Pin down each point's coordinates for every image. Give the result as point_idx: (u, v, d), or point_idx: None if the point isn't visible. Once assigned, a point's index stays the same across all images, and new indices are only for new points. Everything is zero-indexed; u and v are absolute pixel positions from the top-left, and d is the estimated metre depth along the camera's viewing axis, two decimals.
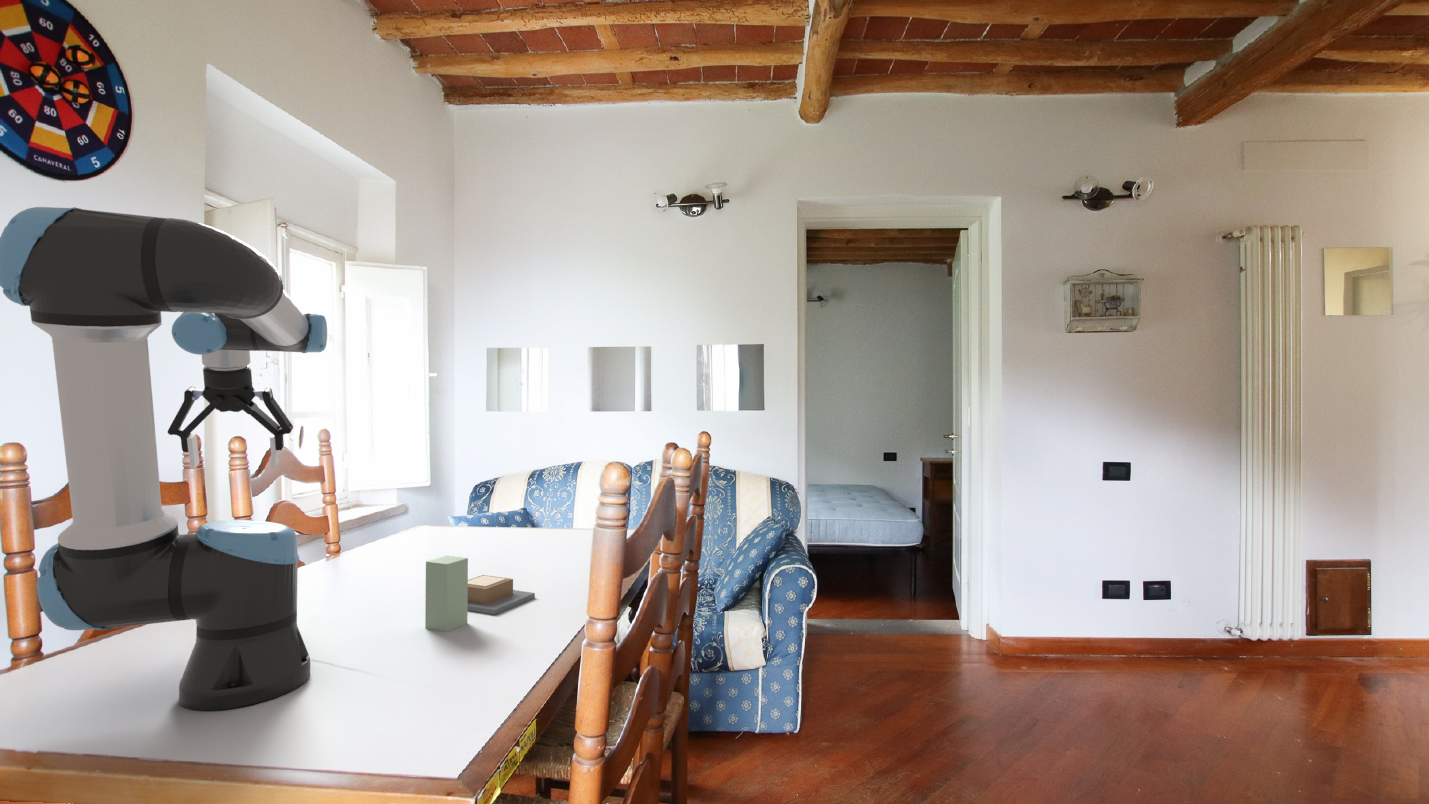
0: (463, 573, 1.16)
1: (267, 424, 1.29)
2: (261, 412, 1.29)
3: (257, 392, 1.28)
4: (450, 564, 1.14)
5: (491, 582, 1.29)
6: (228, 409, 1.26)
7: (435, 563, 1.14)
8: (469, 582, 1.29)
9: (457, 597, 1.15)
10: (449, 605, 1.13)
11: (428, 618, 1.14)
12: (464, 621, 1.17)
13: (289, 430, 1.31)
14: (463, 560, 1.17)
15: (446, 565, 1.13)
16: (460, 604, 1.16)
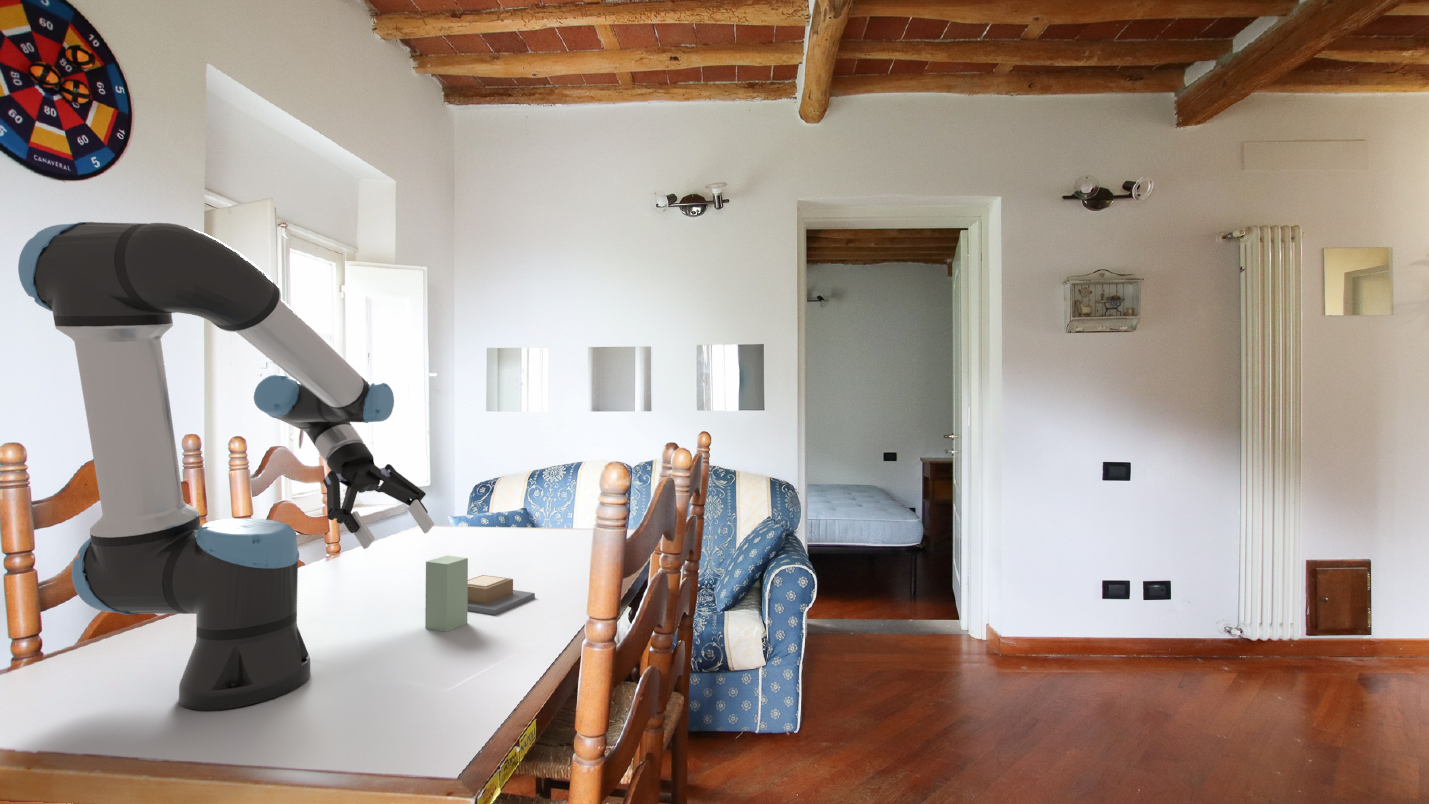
0: (463, 573, 1.16)
1: (405, 490, 1.28)
2: None
3: (381, 469, 1.29)
4: (450, 564, 1.14)
5: (491, 582, 1.29)
6: (370, 482, 1.24)
7: (435, 563, 1.14)
8: (469, 582, 1.29)
9: (457, 597, 1.15)
10: (449, 605, 1.13)
11: (428, 618, 1.14)
12: (464, 621, 1.17)
13: (424, 492, 1.32)
14: (463, 560, 1.17)
15: (446, 565, 1.13)
16: (460, 604, 1.16)
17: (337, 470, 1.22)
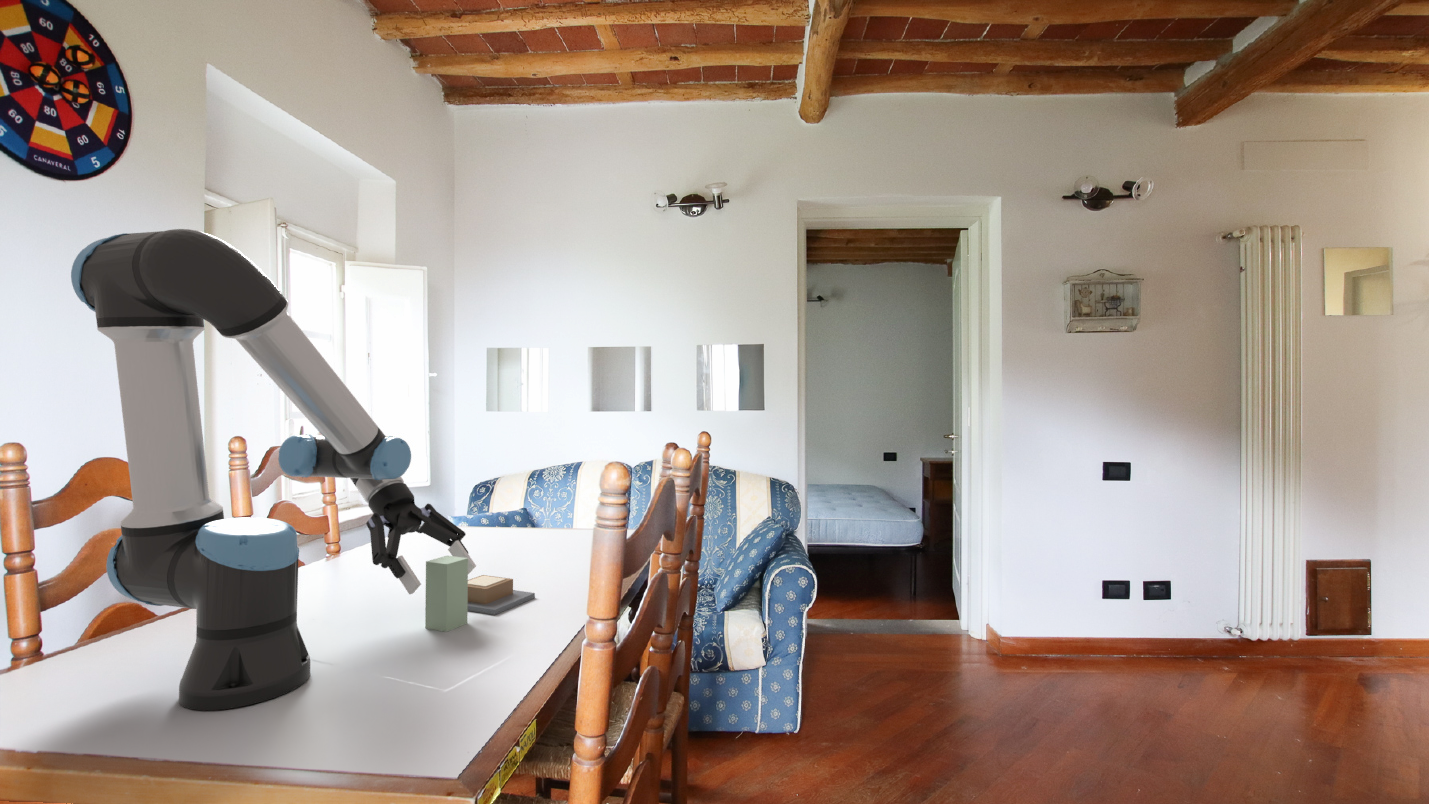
0: (463, 573, 1.16)
1: (446, 530, 1.26)
2: None
3: (421, 509, 1.27)
4: (450, 564, 1.14)
5: (491, 582, 1.29)
6: (412, 524, 1.21)
7: (435, 563, 1.14)
8: (469, 582, 1.29)
9: (457, 597, 1.15)
10: (449, 605, 1.13)
11: (428, 618, 1.14)
12: (464, 621, 1.17)
13: (463, 532, 1.30)
14: (463, 560, 1.17)
15: (446, 565, 1.13)
16: (460, 604, 1.16)
17: (379, 512, 1.20)
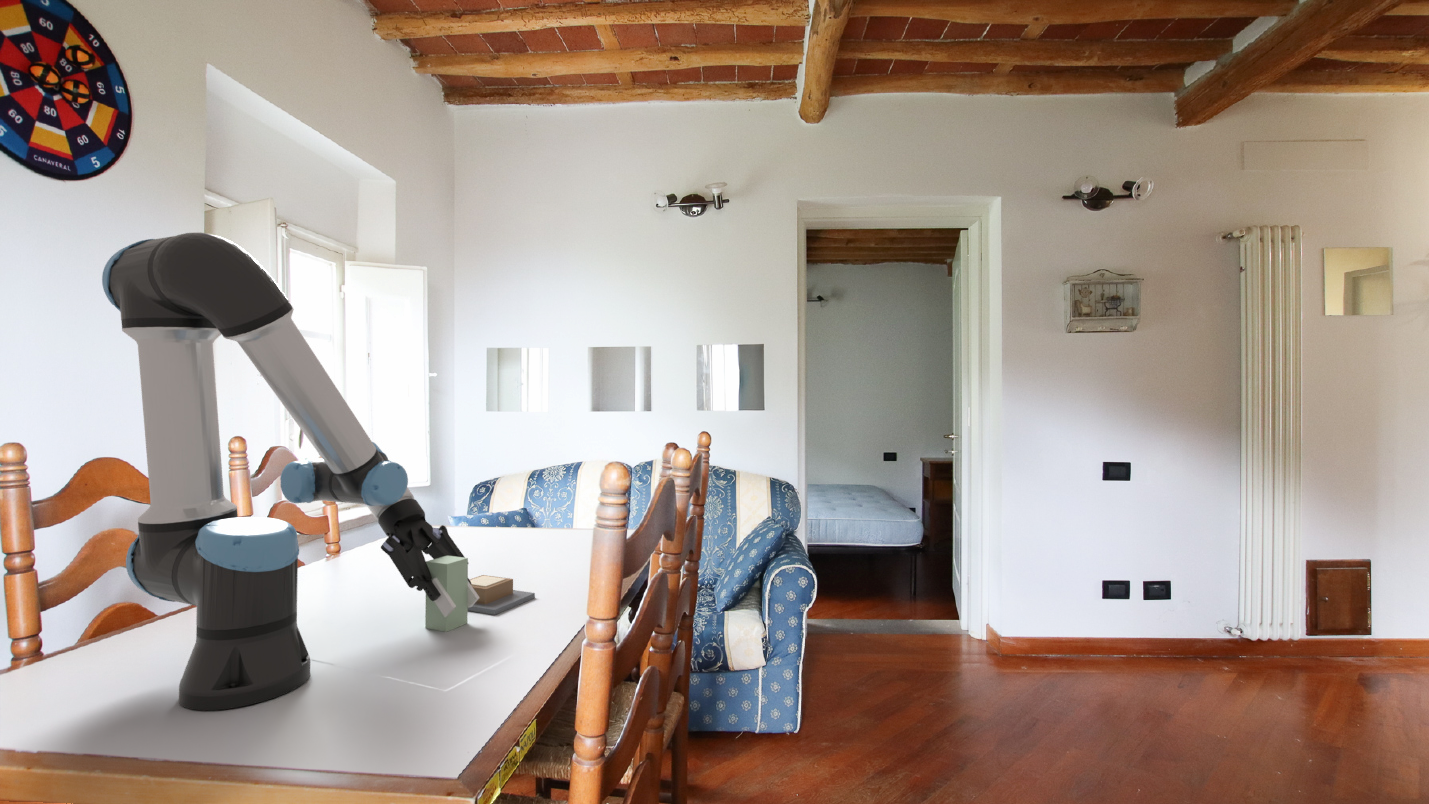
0: (463, 573, 1.16)
1: None
2: None
3: (434, 528, 1.24)
4: (450, 564, 1.14)
5: (491, 582, 1.29)
6: (423, 541, 1.18)
7: (435, 563, 1.14)
8: None
9: (457, 597, 1.15)
10: None
11: (428, 618, 1.14)
12: (464, 620, 1.17)
13: None
14: (463, 560, 1.17)
15: (446, 565, 1.13)
16: (460, 604, 1.16)
17: (389, 529, 1.17)
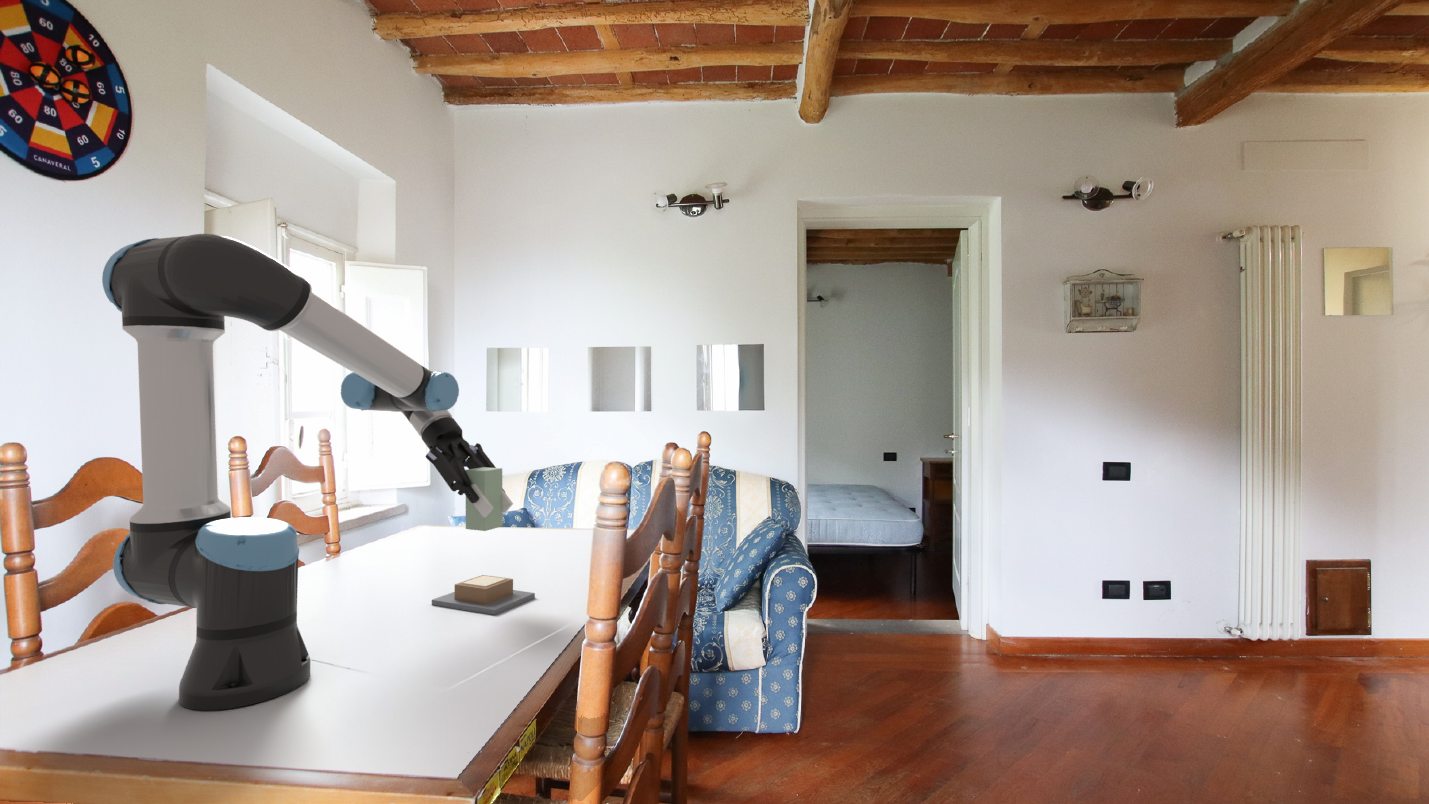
0: (498, 481, 1.30)
1: None
2: None
3: (470, 445, 1.37)
4: (487, 471, 1.27)
5: (491, 582, 1.29)
6: (461, 454, 1.32)
7: (474, 471, 1.28)
8: (469, 582, 1.29)
9: (493, 502, 1.29)
10: None
11: (468, 520, 1.28)
12: (500, 524, 1.31)
13: None
14: (498, 469, 1.30)
15: (484, 472, 1.27)
16: (496, 508, 1.30)
17: (432, 442, 1.30)
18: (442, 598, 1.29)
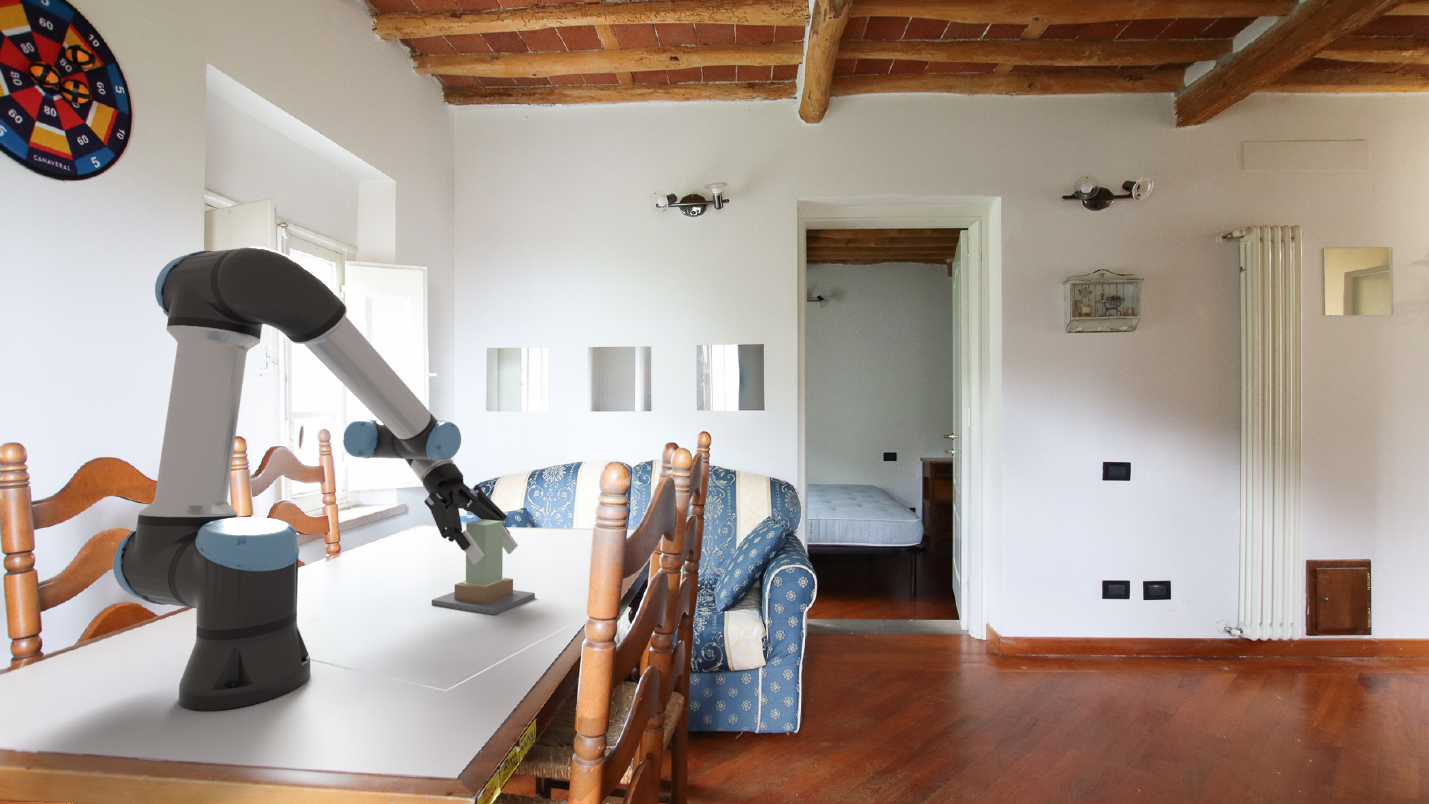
0: (498, 534, 1.31)
1: (490, 511, 1.36)
2: None
3: (470, 489, 1.38)
4: (488, 525, 1.28)
5: None
6: (462, 500, 1.33)
7: (475, 524, 1.28)
8: None
9: (493, 555, 1.30)
10: (487, 561, 1.28)
11: (468, 573, 1.29)
12: (500, 576, 1.31)
13: (505, 515, 1.39)
14: (499, 523, 1.31)
15: (485, 526, 1.27)
16: (496, 561, 1.30)
17: (433, 489, 1.31)
18: (442, 598, 1.29)
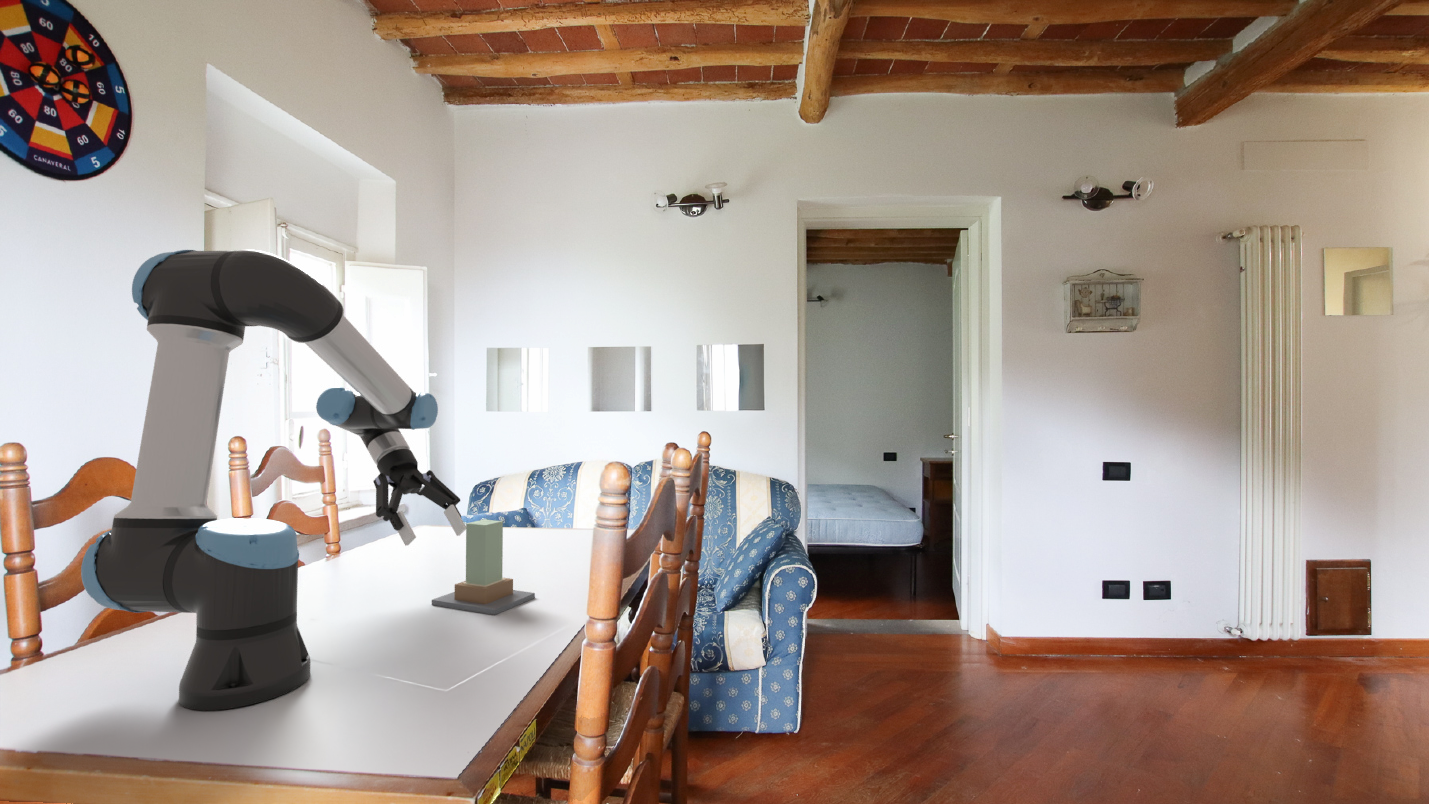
0: (498, 534, 1.31)
1: (443, 495, 1.42)
2: None
3: (423, 474, 1.43)
4: (488, 525, 1.28)
5: None
6: (413, 486, 1.37)
7: (475, 524, 1.28)
8: None
9: (493, 555, 1.30)
10: (487, 561, 1.28)
11: (468, 573, 1.29)
12: (500, 576, 1.31)
13: (459, 498, 1.45)
14: (499, 523, 1.31)
15: (485, 526, 1.27)
16: (496, 561, 1.30)
17: (386, 472, 1.35)
18: (442, 598, 1.29)
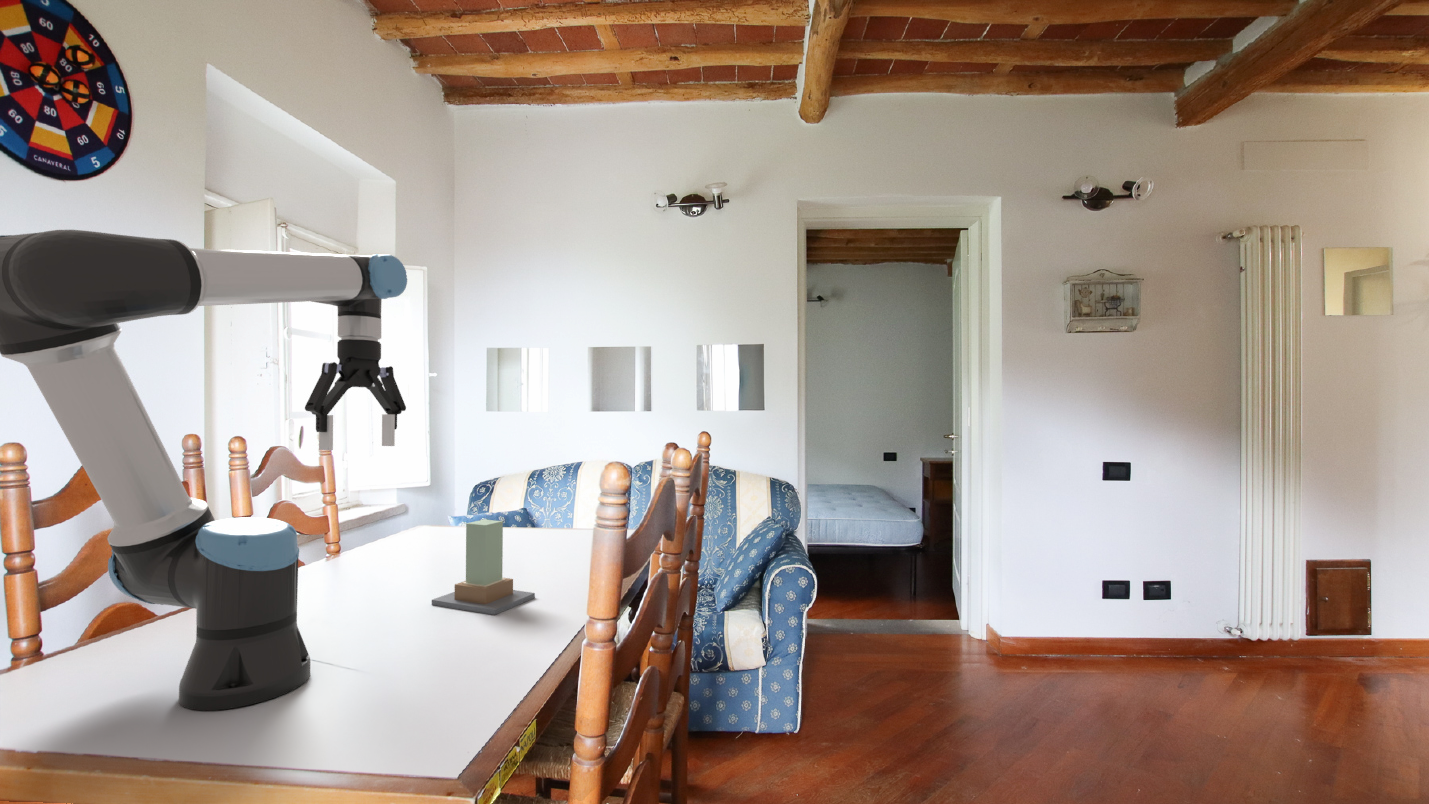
0: (498, 534, 1.31)
1: (390, 400, 1.30)
2: None
3: (381, 368, 1.29)
4: (488, 525, 1.28)
5: None
6: (362, 384, 1.25)
7: (475, 524, 1.28)
8: None
9: (493, 555, 1.30)
10: (487, 561, 1.28)
11: (468, 573, 1.29)
12: (500, 576, 1.31)
13: (405, 407, 1.34)
14: (499, 523, 1.31)
15: (485, 526, 1.27)
16: (496, 561, 1.30)
17: (341, 358, 1.22)
18: (442, 598, 1.29)
